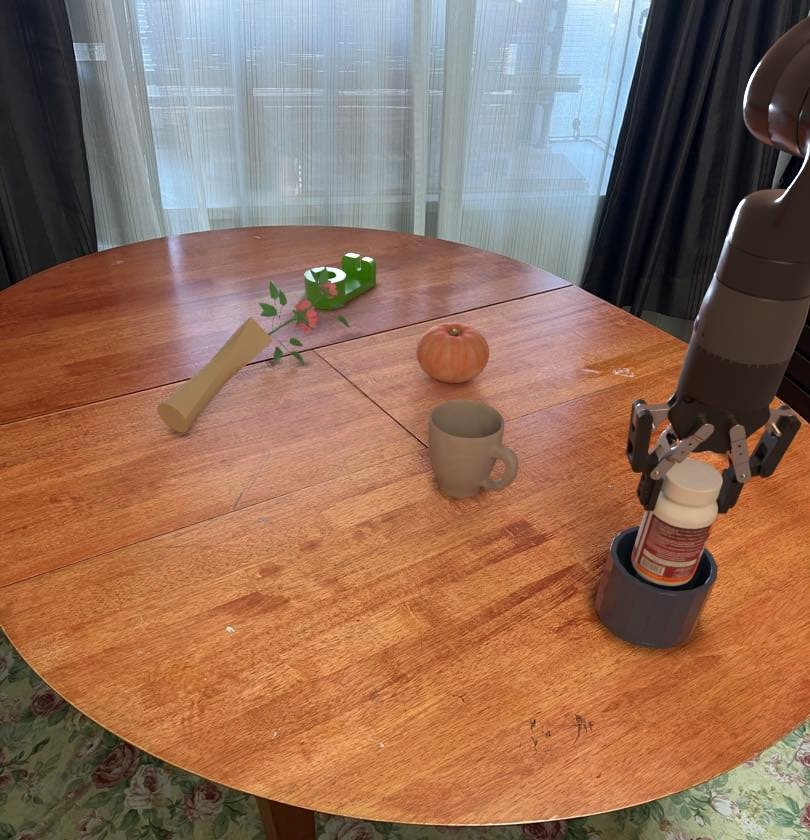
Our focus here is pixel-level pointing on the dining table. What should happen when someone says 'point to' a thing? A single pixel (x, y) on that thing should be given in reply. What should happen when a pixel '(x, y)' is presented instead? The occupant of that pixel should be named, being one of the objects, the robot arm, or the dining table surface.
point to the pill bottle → (678, 524)
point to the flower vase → (240, 356)
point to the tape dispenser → (342, 281)
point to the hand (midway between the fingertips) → (682, 506)
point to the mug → (468, 448)
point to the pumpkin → (452, 352)
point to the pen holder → (650, 598)
